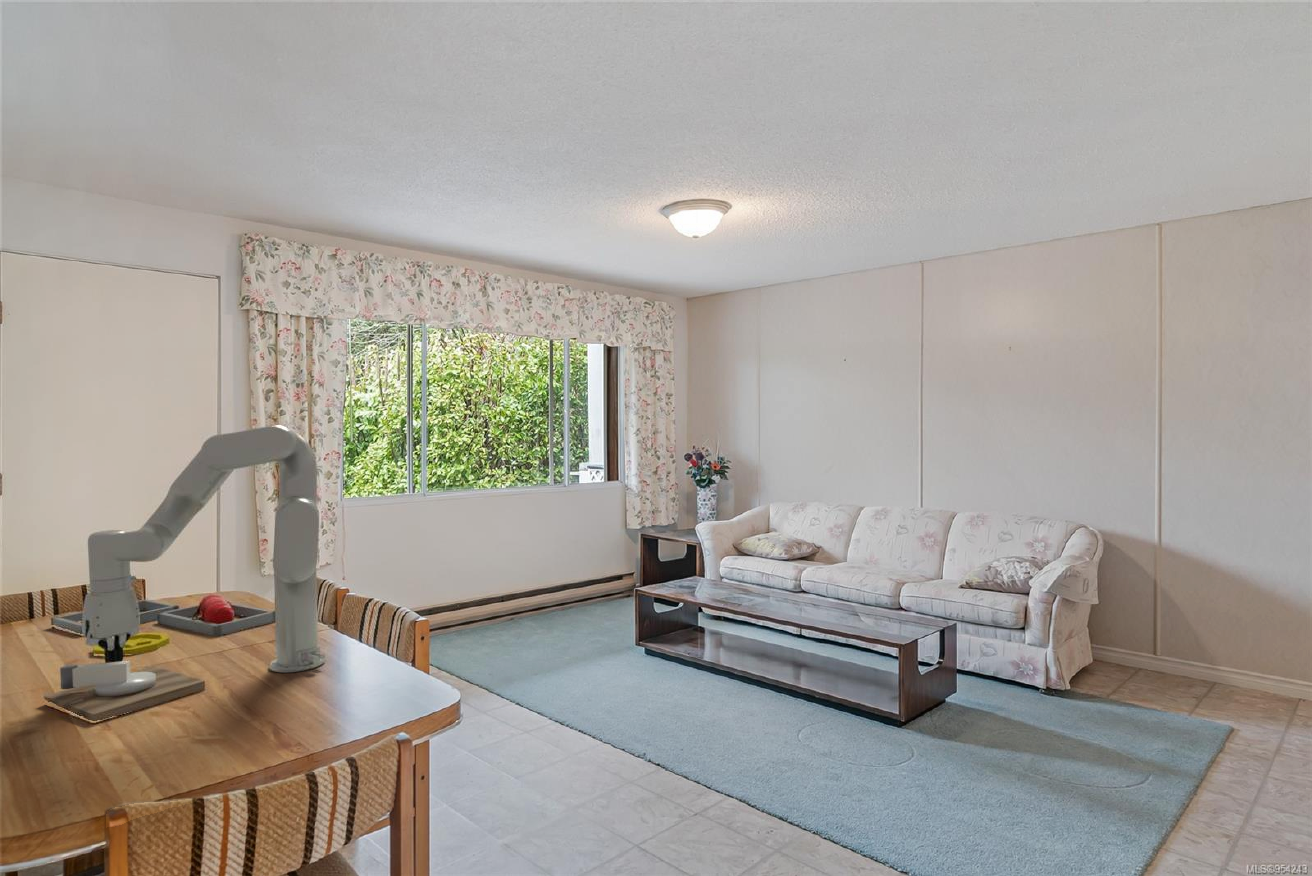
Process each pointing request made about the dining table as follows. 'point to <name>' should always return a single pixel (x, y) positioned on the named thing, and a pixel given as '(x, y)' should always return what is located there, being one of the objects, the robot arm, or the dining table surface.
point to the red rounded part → (215, 610)
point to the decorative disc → (140, 643)
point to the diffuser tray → (150, 615)
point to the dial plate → (126, 696)
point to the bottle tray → (182, 621)
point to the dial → (106, 678)
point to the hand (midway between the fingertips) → (114, 665)
